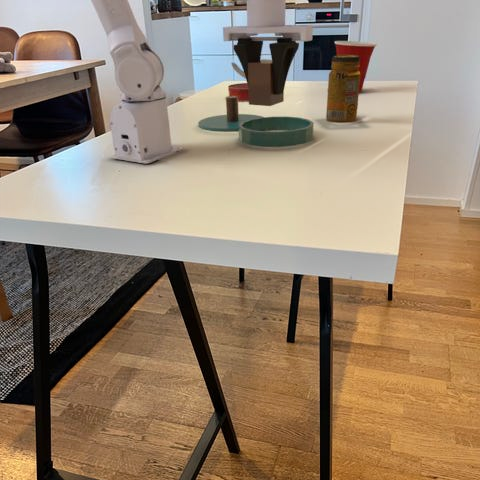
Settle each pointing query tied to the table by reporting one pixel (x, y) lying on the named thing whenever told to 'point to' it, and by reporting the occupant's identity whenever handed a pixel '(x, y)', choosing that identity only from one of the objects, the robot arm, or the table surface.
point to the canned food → (239, 86)
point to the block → (262, 84)
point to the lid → (227, 118)
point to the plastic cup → (360, 50)
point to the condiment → (343, 89)
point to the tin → (256, 136)
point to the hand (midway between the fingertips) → (266, 93)
